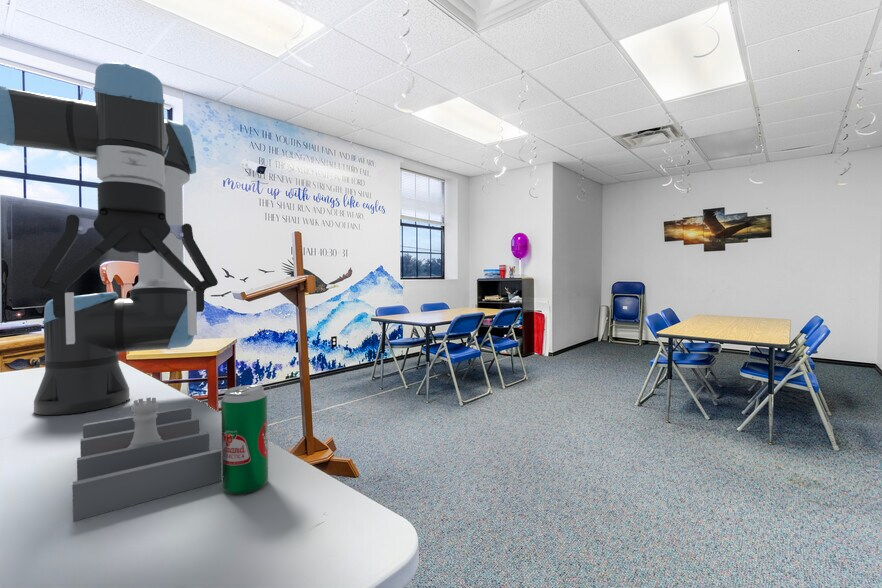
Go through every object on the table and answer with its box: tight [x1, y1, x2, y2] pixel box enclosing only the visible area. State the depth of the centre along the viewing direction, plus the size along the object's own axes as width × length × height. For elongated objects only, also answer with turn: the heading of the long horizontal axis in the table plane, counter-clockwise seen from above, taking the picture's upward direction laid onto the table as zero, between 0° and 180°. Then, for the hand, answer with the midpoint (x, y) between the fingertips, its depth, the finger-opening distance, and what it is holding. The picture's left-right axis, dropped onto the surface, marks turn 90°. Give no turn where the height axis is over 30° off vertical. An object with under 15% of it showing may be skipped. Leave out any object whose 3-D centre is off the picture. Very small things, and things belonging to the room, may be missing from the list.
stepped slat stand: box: [71, 406, 223, 522], centre depth 57 cm, size 25×14×4 cm, turn 39°
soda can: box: [220, 384, 269, 496], centre depth 50 cm, size 5×5×12 cm
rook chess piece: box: [128, 397, 163, 448], centre depth 57 cm, size 4×4×8 cm
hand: (136, 338), depth 58 cm, fingers open, 13 cm apart
